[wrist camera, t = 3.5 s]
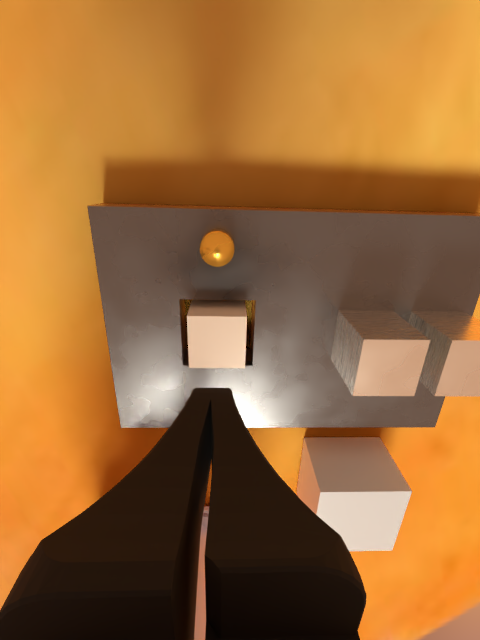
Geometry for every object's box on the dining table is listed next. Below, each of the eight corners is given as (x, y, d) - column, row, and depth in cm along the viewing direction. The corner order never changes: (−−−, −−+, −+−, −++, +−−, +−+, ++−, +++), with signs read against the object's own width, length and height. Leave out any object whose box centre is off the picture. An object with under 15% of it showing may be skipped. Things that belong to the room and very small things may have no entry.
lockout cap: (296, 492, 26) (309, 551, 21) (304, 437, 23) (320, 492, 19) (365, 491, 26) (392, 550, 22) (379, 437, 24) (412, 491, 19)
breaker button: (194, 343, 20) (188, 367, 17) (192, 296, 19) (186, 315, 16) (242, 343, 20) (245, 368, 17) (244, 297, 19) (247, 316, 16)
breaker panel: (129, 407, 22) (100, 474, 17) (103, 203, 17) (48, 212, 12) (418, 407, 23) (472, 472, 18) (476, 213, 17) (577, 225, 12)
